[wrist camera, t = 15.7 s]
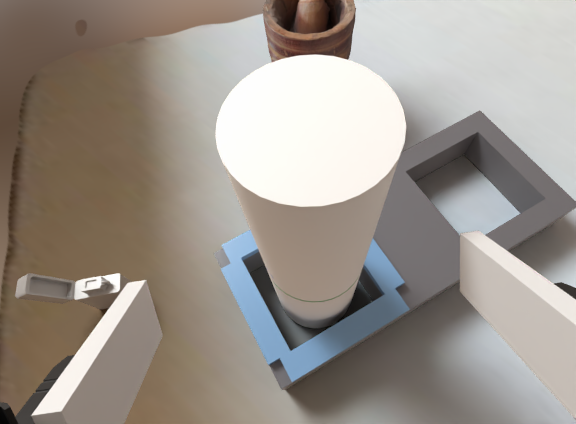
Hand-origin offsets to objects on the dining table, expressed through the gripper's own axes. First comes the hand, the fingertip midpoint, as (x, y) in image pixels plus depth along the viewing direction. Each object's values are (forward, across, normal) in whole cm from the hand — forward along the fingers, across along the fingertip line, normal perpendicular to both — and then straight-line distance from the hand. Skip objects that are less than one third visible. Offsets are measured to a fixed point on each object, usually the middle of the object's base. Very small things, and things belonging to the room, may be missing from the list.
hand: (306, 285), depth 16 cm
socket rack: (+21, +9, -9) cm, 24 cm away
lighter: (+20, -20, -10) cm, 30 cm away
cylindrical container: (+18, +1, -11) cm, 22 cm away
